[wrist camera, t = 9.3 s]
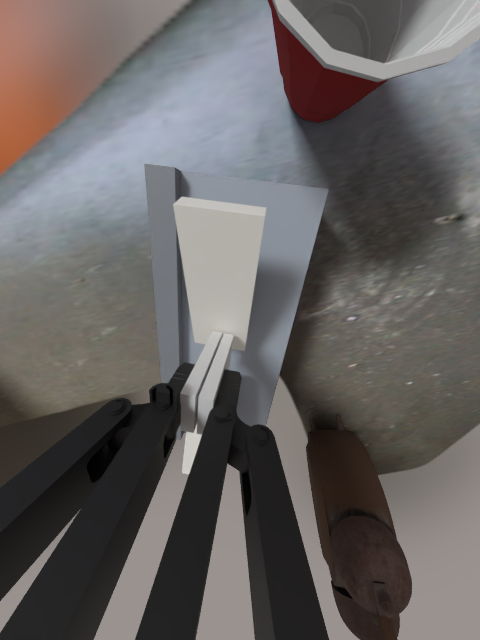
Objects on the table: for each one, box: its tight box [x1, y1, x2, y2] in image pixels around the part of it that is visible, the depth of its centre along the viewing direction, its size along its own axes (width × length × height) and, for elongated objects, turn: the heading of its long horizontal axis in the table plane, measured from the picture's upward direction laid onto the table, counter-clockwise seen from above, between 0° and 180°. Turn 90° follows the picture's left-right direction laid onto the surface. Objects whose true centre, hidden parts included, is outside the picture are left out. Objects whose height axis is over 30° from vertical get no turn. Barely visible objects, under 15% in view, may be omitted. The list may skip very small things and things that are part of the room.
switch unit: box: [145, 164, 329, 440], centre depth 22 cm, size 12×28×7 cm, turn 173°
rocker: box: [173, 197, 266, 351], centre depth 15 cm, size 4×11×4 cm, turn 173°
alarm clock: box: [306, 415, 412, 640], centre depth 23 cm, size 15×7×20 cm, turn 11°
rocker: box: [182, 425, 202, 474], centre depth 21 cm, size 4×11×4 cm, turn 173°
